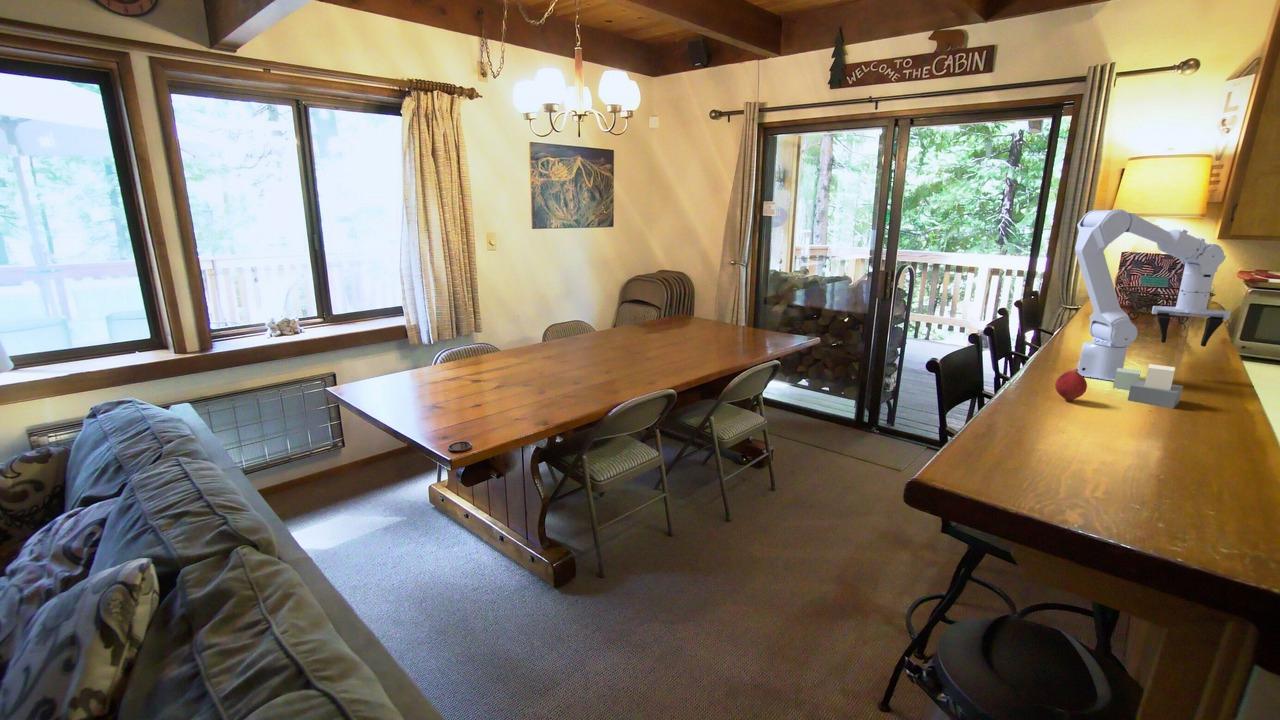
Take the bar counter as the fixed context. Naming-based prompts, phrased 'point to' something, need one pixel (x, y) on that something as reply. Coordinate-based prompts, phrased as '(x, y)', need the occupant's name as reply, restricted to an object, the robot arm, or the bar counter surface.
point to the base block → (1155, 395)
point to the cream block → (1159, 377)
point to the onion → (1071, 385)
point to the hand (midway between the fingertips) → (1182, 343)
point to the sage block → (1125, 378)
